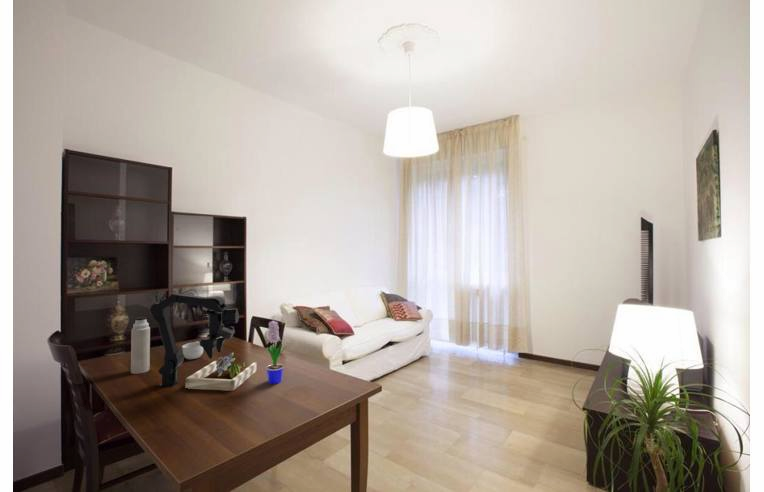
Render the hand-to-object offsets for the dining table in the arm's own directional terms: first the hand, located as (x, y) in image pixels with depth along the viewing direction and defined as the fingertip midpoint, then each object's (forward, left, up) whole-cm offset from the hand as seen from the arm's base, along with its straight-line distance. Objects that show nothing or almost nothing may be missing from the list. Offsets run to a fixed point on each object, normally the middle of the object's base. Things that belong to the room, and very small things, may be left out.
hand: (215, 355), depth 164 cm
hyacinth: (+4, -29, -14) cm, 32 cm away
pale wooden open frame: (+5, -2, -13) cm, 14 cm away
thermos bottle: (+10, +46, -14) cm, 49 cm away
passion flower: (+10, -2, -14) cm, 17 cm away
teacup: (+34, +32, -14) cm, 49 cm away
